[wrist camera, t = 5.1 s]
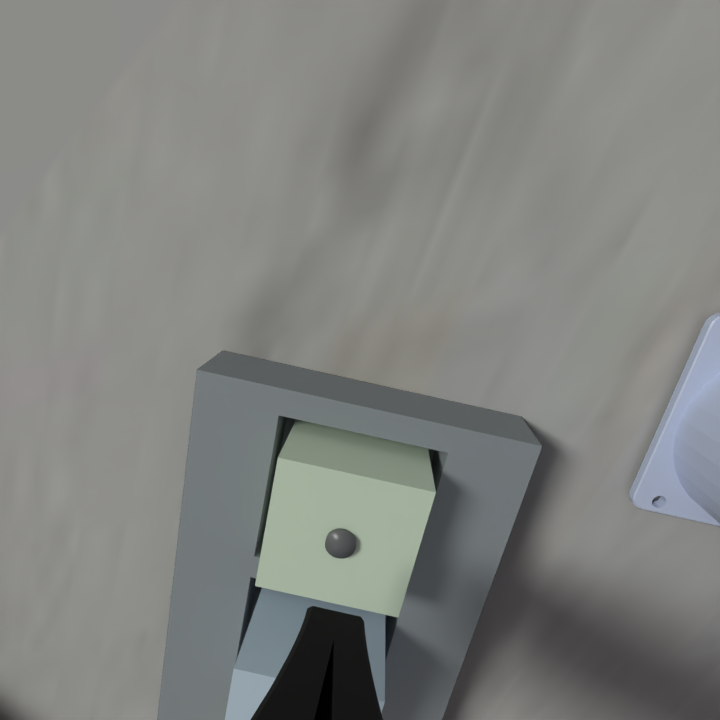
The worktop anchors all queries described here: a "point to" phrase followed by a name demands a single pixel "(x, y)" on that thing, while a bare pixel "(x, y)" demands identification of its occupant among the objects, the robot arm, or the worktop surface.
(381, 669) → the tile two dots
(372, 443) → the tile one dot
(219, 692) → the board
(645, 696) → the worktop surface
